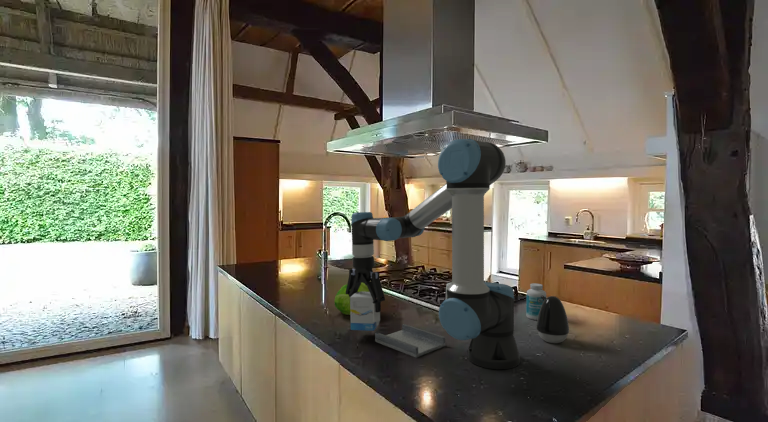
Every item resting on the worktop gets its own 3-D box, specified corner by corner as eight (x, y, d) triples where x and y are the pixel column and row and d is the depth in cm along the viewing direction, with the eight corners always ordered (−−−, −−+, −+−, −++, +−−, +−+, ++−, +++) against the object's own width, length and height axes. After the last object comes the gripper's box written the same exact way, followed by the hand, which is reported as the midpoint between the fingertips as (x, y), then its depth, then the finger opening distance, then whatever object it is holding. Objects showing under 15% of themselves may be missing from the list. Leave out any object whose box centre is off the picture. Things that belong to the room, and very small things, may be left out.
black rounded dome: (552, 333, 145) (552, 291, 145) (575, 343, 135) (576, 298, 135) (529, 337, 141) (529, 294, 141) (551, 348, 132) (552, 301, 131)
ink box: (374, 331, 138) (373, 297, 138) (350, 330, 140) (349, 296, 140) (379, 323, 147) (378, 291, 146) (356, 322, 149) (356, 291, 148)
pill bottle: (527, 320, 161) (527, 286, 160) (525, 314, 168) (525, 282, 168) (547, 321, 159) (547, 287, 159) (544, 315, 166) (544, 283, 166)
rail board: (445, 345, 134) (445, 336, 134) (416, 357, 125) (416, 348, 125) (404, 332, 148) (404, 323, 148) (375, 341, 139) (375, 332, 139)
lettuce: (368, 323, 159) (368, 288, 159) (325, 316, 168) (325, 284, 168) (386, 312, 173) (385, 281, 172) (345, 307, 182) (345, 277, 181)
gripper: (394, 257, 137) (396, 322, 137) (350, 252, 154) (352, 309, 155) (377, 260, 132) (379, 327, 132) (334, 254, 149) (336, 313, 150)
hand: (365, 317), depth 143 cm, fingers closed on ink box, 11 cm apart
